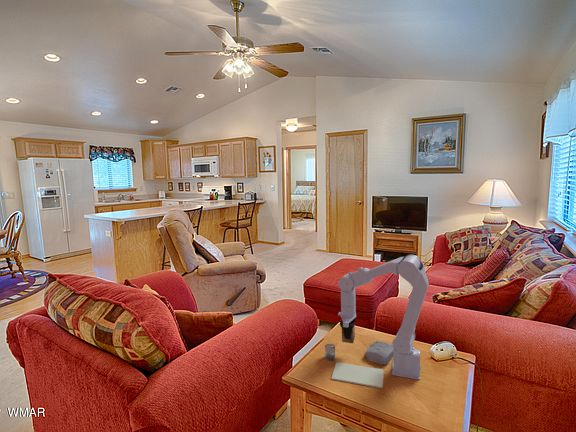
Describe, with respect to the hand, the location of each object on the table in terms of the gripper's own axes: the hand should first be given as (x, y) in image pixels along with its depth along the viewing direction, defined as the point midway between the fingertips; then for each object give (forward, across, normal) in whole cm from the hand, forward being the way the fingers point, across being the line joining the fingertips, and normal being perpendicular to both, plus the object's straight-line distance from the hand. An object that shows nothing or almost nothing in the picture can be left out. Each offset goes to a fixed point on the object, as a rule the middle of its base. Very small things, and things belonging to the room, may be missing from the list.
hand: (348, 335), depth 130 cm
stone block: (+9, -3, +12) cm, 16 cm away
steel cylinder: (+8, +4, -7) cm, 12 cm away
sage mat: (+9, +12, +5) cm, 16 cm away
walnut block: (+2, 0, 0) cm, 2 cm away
